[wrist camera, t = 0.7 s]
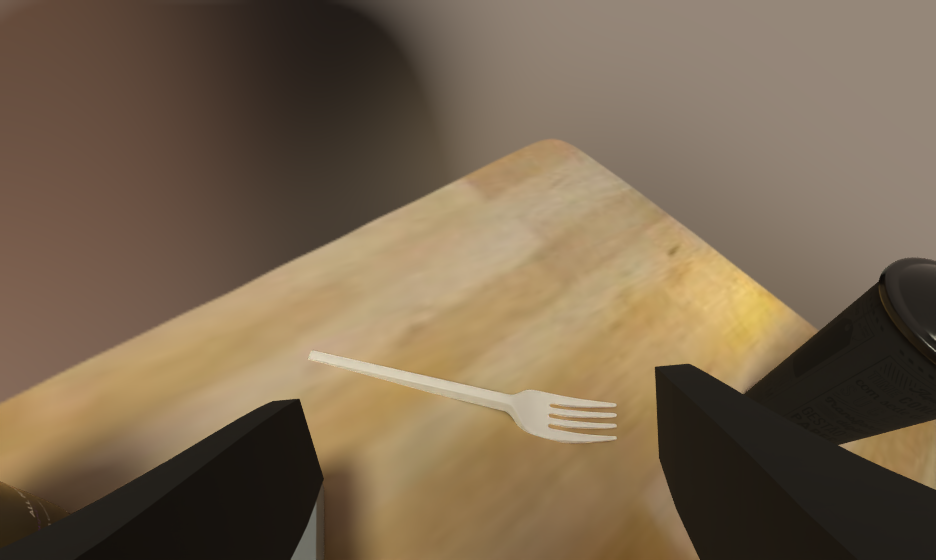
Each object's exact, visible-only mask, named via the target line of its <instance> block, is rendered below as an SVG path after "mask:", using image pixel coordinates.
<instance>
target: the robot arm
mask: <svg viewBox="0 0 936 560" xmlns="http://www.w3.org/2000/svg"><path fill="white" fill-rule="evenodd" d="M655 378H656V400H657V423H658V445H659V459H660V462H661V465H662V468H663V471H664V474H665V477H666V480H667V483H668V486H669V489H670V492H671V495H672V498H673V501H674V504H675V507H676V509H677V511H678V514H679V516H680V518H681V520H682V522H683V525H684V527H685V529H686V531H687V533H688V535H689V537H690V539H691V542H692V544H693V546H694V548H695V550H696V552H697V554H698V556H699V559H700V560H936V490H935V489H932V488H930V487H928V486H925V485H923V484H921V483H918V482H916V481H914V480H911V479H909V478H907V477H904V476H902V475H900V474H897V473H895V472H893V471H891V470H888V469H886V468H884V467H882V466H880V465H877V464H875V463H873V462H871V461H869V460H867V459H864V458H862V457H860V456H858V455H856V454H854V453H852V452H850V451H848V450H846V449H844V448H842V447H840V446H838V445H836V444H834V443H832V442H830V441H828V440H826V439H824V438H822V437H820V436H818V435H816V434H814V433H812V432H810V431H808V430H806V429H804V428H803V427H801V426H799V425H797V424H795V423H793V422H791V421H789V420H788V419H786V418H784V417H782V416H780V415H779V414H777V413H775V412H773V411H771V410H770V409H768V408H766V407H764V406H762V405H761V404H759V403H757V402H755V401H754V400H752V399H750V398H749V397H747V396H745V395H743V394H742V393H740V392H738V391H737V390H735V389H733V388H731V387H730V386H728V385H726V384H725V383H723V382H721V381H719V380H718V379H716V378H714V377H713V376H711V375H709V374H707V373H706V372H704V371H702V370H700V369H698V368H697V367H695V366H693V365H691V364H681V365H670V366H659V367H655ZM323 479H324V478H323V475H322V471H321V468H320V465H319V461H318V458H317V455H316V452H315V448H314V445H313V442H312V439H311V435H310V432H309V429H308V425H307V422H306V419H305V416H304V412H303V409H302V406H301V402H300V399H292V400H280V401H272V402H270V403H268V404H265V405H263V406H261V407H259V408H257V409H255V410H253V411H251V412H250V413H248V414H246V415H244V416H242V417H241V418H239V419H237V420H235V421H234V422H232V423H230V424H229V425H227V426H225V427H223V428H222V429H220V430H218V431H217V432H215V433H213V434H212V435H210V436H208V437H207V438H205V439H203V440H202V441H200V442H198V443H197V444H195V445H193V446H192V447H190V448H188V449H187V450H185V451H183V452H182V453H180V454H178V455H177V456H175V457H173V458H172V459H170V460H168V461H166V462H165V463H163V464H161V465H159V466H158V467H156V468H154V469H152V470H151V471H149V472H147V473H145V474H144V475H142V476H140V477H138V478H137V479H135V480H133V481H131V482H130V483H128V484H126V485H124V486H122V487H121V488H119V489H117V490H115V491H114V492H112V493H110V494H108V495H107V496H105V497H103V498H101V499H99V500H97V501H95V502H94V503H92V504H90V505H88V506H86V507H84V508H82V509H80V510H78V511H76V512H74V513H73V514H71V515H69V516H67V517H65V518H63V519H61V520H59V521H57V522H55V523H52V524H50V525H48V526H46V527H44V528H42V529H40V530H38V531H36V532H34V533H32V534H30V535H28V536H26V537H24V538H22V539H20V540H18V541H16V542H13V543H11V544H9V545H7V546H5V547H2V548H0V560H291V558H292V556H293V554H294V552H295V550H296V548H297V546H298V544H299V542H300V540H301V538H302V536H303V534H304V532H305V530H306V528H307V525H308V523H309V520H310V517H311V515H312V512H313V509H314V506H315V504H316V501H317V498H318V495H319V492H320V489H321V485H322V482H323Z"/></svg>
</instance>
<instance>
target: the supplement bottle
mask: <svg viewBox="0 0 936 560" xmlns="http://www.w3.org/2000/svg"><path fill="white" fill-rule="evenodd" d="M69 515H70V514H69V513H68V512H67V511H65V510H64V509H62V508H61V507H59V506H57V505H55V504H53V503H51V502H49V501H46V500H44V499H42V498H40V497H37V496H35V495H32V494H30V493H27V492H25V491H22V490H20V489H18V488H15V487H13V486H10V485H8V484H5V483H3V482H0V548H2V547H5V546H7V545H9V544H11V543H13V542H16V541H18V540H20V539H22V538H24V537H26V536H28V535H30V534H32V533H34V532H36V531H38V530H40V529H42V528H44V527H46V526H48V525H50V524H52V523H55V522H57V521H59V520H61V519H63V518H65V517H67V516H69Z"/></svg>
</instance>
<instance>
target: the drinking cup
mask: <svg viewBox="0 0 936 560" xmlns="http://www.w3.org/2000/svg"><path fill="white" fill-rule="evenodd" d="M744 395H745V396H747V397H749V398H750V399H752V400H754V401H755V402H757V403H759V404H761V405H762V406H764V407H766V408H768V409H770V410H771V411H773V412H775V413H777V414H779V415H780V416H782V417H784V418H786V419H788V420H789V421H791V422H793V423H795V424H797V425H799V426H801V427H803V428H804V429H806V430H808V431H810V432H812V433H814V434H816V435H818V436H820V437H822V438H824V439H826V440H828V441H830V442H832V443H834V444H836V445H840V444H844V443H848V442H852V441H855V440H859V439H863V438H867V437H871V436H874V435H878V434H882V433H886V432H889V431H893V430H897V429H901V428H905V427H908V426H912V425H916V424H920V423H924V422H927V421H931V420H935V419H936V261H934V260H930V259H925V258H905V259H901V260H898V261H895V262H894V263H892V264H890V265H889V266H888V267H887V268H885V269H884V271H883V272H882V274H881V276H880V278H879V282H877V283H876V284H875V285H874V286H873V287H871V288H870V289H869V290H868V291H867V292H865V293H864V294H863V295H862V296H861V297H860V298H858V299H857V300H856V301H855V302H854V303H852V304H851V305H850V306H849V307H848V308H846V309H845V310H844V311H843V312H842V313H841V314H839V315H838V316H837V317H836V318H834V319H833V320H832V321H831V322H830V323H828V324H827V325H826V326H825V327H824V328H822V329H821V330H820V331H819V332H818V333H816V334H815V335H814V336H813V337H812V338H811V339H809V340H808V341H807V342H806V343H805V344H803V345H802V346H801V347H800V348H799V349H797V350H796V351H795V352H794V353H793V354H791V355H790V356H789V357H788V358H787V359H785V360H784V361H783V362H782V363H781V364H779V365H778V366H777V367H776V368H775V369H773V370H772V371H771V372H770V373H769V374H768V375H766V376H765V377H764V378H763V379H762V380H760V381H759V382H758V383H757V384H756V385H754V386H753V387H752V388H751V389H750V390H748V391H747V392H746V393H745V394H744Z"/></svg>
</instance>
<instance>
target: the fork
mask: <svg viewBox="0 0 936 560" xmlns="http://www.w3.org/2000/svg"><path fill="white" fill-rule="evenodd" d="M308 359H309V360H313V361H317V362H320V363H324V364H328V365H332V366H335V367H339V368H343V369H347V370H350V371H354V372H358V373H361V374H365V375H369V376H372V377H376V378H379V379H383V380H387V381H390V382H394V383H398V384H401V385H405V386H408V387H412V388H415V389H419V390H423V391H426V392H430V393H434V394H438V395H442V396H446V397H450V398H454V399H458V400H462V401H466V402H470V403H474V404H478V405H482V406H486V407H490V408H494V409H498V410H502V411H505V412H507V413H508V414H510V415H511V417H512V418H513V419H514V421H515V422H516V424H517V425H518V426H519V427H520V428H521V429H522V430H524V431H526V432H528V433H530V434H532V435H535V436H539V437H542V438H546V439H550V440H554V441H558V442H562V443H594V442H605V441H612V440H616V439H617V437H616V436H601V435H589V434H580V433H573V432H567V431H562V430H556V429H551V428H549V427H548V425H549V424H552V425H556V426H560V427H565V428H583V429H607V428H616V427H617V425H616V424H607V423H591V422H579V421H570V420H561V419H555V418H551V417H549V414H555V415H559V416H563V417H573V418H611V417H616V416H617V415H616V414H615V413H601V412H585V411H575V410H565V409H558V408H552V407H550V404H556V405H560V406H565V407H580V408H604V407H616V406H617V405H616V404H615V403H607V402H599V401H592V400H585V399H578V398H572V397H566V396H561V395H556V394H551V393H547V392H542V391H537V390H525V391H522V392H519V393H517V394H513V395H509V394H504V393H500V392H495V391H491V390H487V389H482V388H478V387H473V386H469V385H464V384H460V383H455V382H451V381H447V380H442V379H438V378H433V377H429V376H424V375H420V374H416V373H411V372H407V371H402V370H398V369H393V368H389V367H385V366H380V365H376V364H371V363H367V362H362V361H358V360H354V359H349V358H345V357H340V356H336V355H331V354H327V353H322V352H318V351H313V350H312V351H311V352H310V354H309V357H308Z"/></svg>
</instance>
